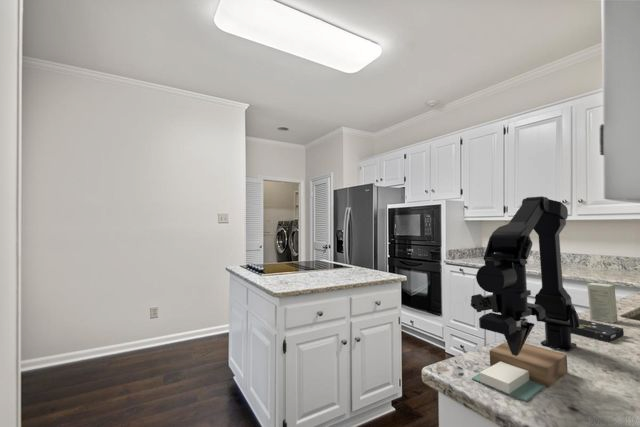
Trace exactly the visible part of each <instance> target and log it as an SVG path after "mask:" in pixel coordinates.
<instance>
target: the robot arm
mask: <svg viewBox="0 0 640 427" xmlns="http://www.w3.org/2000/svg"><path fill="white" fill-rule="evenodd" d="M568 213H569V212H568V207H567V206H566V205H565V204H564V203H563V202H561V201H557V200H553V199H549V198H548V197H547V196H530V197H529V196H527V197H526V198H523V199H522V201H521V205H520V206H519V209H518V210H517V211H516V212H515V214H514V215H513V216H512V218H511V219H510V220H509V222H508V223H506V224H504V225H501V226H499V227H497V228H496V229H494V231H493V232H492V233H491V235H490V236H489V239H488V241H487V246H486V248H485V252H484V255H483V261H484V265H483V266H480V267H479V268H478V270H477V272H476V275H475V279H476V283H477V285H478V286H479V287H480V288H481V289H482V290H484V291H485V292H487V293H492V294H487V295H482V293H478V294H474V295H471V297H470V299H471V300H470V307H471V308H473V309H474V310H475V311H476V313H481V312H482V311H489V310H492V312H488V313H486V314H483V315H481V316H480V317H479V318H478V326H479V328H480V329H482V330H486V331H489V332H494V333H496V334H500V335H501V334H502V335H503V336H504V339H505V342H507V343H508V346H509V348H510V351H511V353H512V355H515V356H517V355H519V353H520V351H521V349H522V347H523V345H524V343H526V340H527V339H528V337H529V335H530V333H531V331H532V329H533V328H534V327H535V325H536V324H535V323H534V322H529V321H528V318H527V317H529V316H535V319H536V321H537V322H541V323H544V331H545V332H544V334H545V339H544V340H542V341H540V345H542V346H545V347H550V348H552V349H557V350H561V351H565V352H570V351H572V350H573V349H574V348H576V347H577V343H574V342H572V333H571V328H579V327H580V326H579V319H580V316H579V315H578V312H577V310H576V308H575V306H574V305H573V302H572V301H573V300H572V297H571V296H570V294H569V293H568V291H567V290H566V289H565V287H564V283H563V282H564V281H563V272H562V270H563V269H562V268H563V267H562V258H561V242H560V241H561V239H560V234H561V232H562V231H563V230H564V228H565V226H566V225H567V219H568V216H569V214H568ZM533 231H534V232H535V233H536V234H537V235H538V248H539V261H540V262H539V263H540V276H541V288H540V290H539V291H537V292H538V293H536V294H535V296H534V299H535V300H534V303H529V302H528V297H529V296H531V295H532V293H531V292H532V291H531V290H529V289H527V288H528V287H527V269H526V268H527V266H526V265H527V264H528V259H529V256H530V253H531V251H532V247H533V241H532V238H531V237H530V235H531V233H532V232H533Z"/></svg>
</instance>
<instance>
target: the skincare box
mask: <svg viewBox="0 0 640 427" xmlns="http://www.w3.org/2000/svg"><path fill="white" fill-rule="evenodd" d="M587 295H588V306H589V308H588V309H589V318H590V320H594V321H599V322H606V323H611V324H614V323H616V322H618V321H619V320H618V310H617V300H616V299H617V298H616V288H615V284H611V283H610V284H609V283H599V282H590V283H587Z"/></svg>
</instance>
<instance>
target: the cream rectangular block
mask: <svg viewBox="0 0 640 427" xmlns="http://www.w3.org/2000/svg"><path fill="white" fill-rule="evenodd" d="M479 374H480V382H482V383H485V384H487V385H489V386H492V387H494V388H497V389H499V390H501V391H504V392H506V393H511V392H512V391H514V390H515V389H517V388H518V387H520V386H521V385H523V384H524V383H526V382H527V381H529V371H528V370H525V369H522V368H519V367H516V366H513V365H510V364H507V363H505V362H502V361H500V362H498V363H496V364H494V365H493V366H491V367H490V366H489V367H487V368H486V369H484V370H481V371H480V372H479ZM482 383H481V384H482ZM487 385H486V386H487ZM489 386H488V387H489ZM492 387H491V388H492ZM494 388H493V389H494ZM499 390H498V391H499ZM501 391H500V392H501ZM504 392H503V393H504ZM506 393H505V394H506Z"/></svg>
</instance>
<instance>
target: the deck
mask: <svg viewBox="0 0 640 427" xmlns="http://www.w3.org/2000/svg"><path fill="white" fill-rule="evenodd" d="M488 351H489V367H491V366H493V365H494V364H496V363H498V362H500V361H502V362H505V363H507V364H510V365H513V366H516V367H519V368H522V369H525V370H528V371H529V380H532V381H534V382H537V383H540V384H543V385H545V388H547V389H548V388H549V389H550V387H551V386H553V385H554V384H555V383H556V382H558V381H559V380H560V379H561V378H562V377H564V376H565V375H567V373H568V372H569V371H568V369H569V368H568V355H567V354H566V353H561V352H559V351H554V350H551V349H547V348H544V347H541V346H540V347H539V346H537V345H532V344H529V343H526V342H525V343H524V345H523V347H522V349H521V351H520V353H519V355H517V356H515V355H512V353H511V351H510V348H509V346H508V343H507V341H505V342H504V343H501V344H499V345H497V346H495V347H493V348H492V349H489V350H488Z"/></svg>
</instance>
